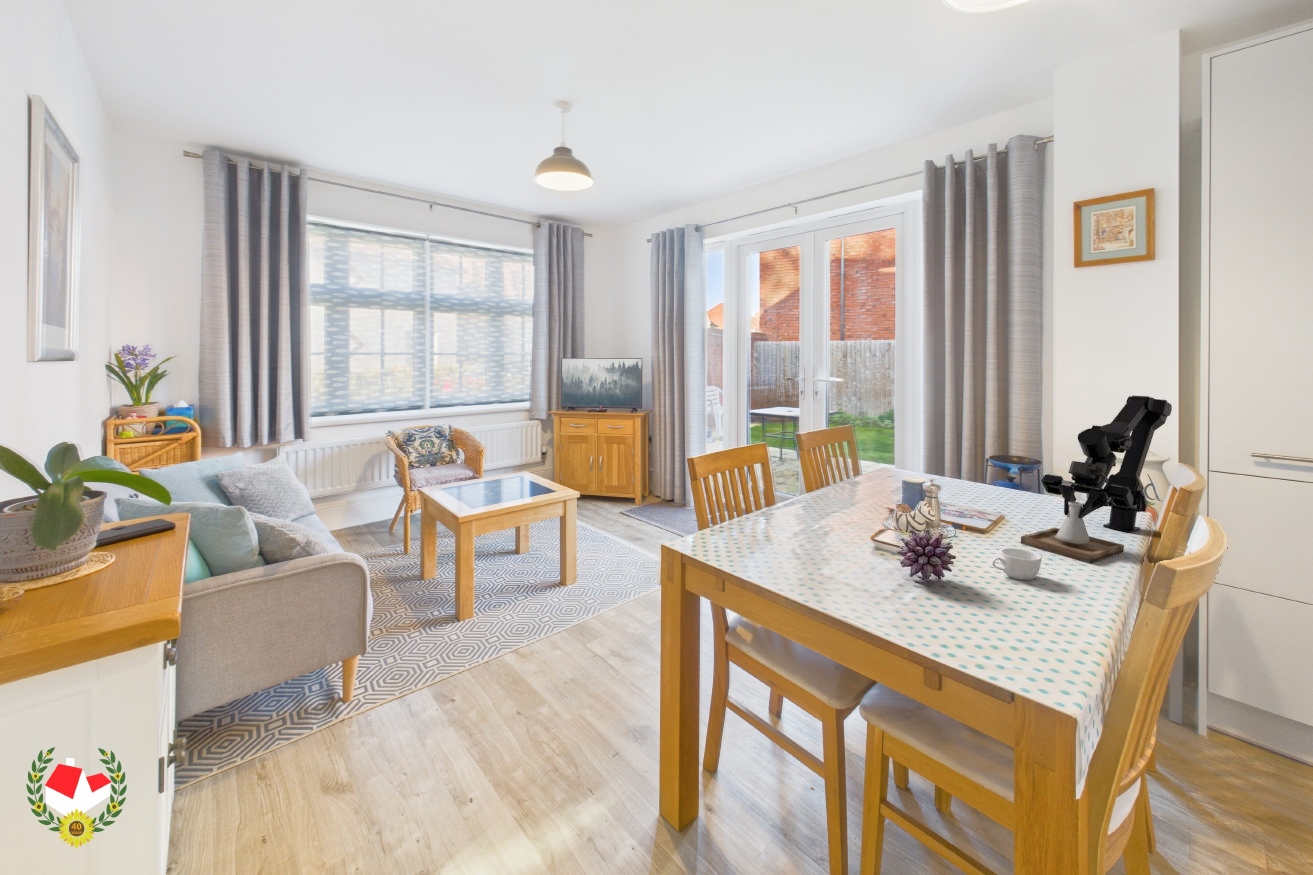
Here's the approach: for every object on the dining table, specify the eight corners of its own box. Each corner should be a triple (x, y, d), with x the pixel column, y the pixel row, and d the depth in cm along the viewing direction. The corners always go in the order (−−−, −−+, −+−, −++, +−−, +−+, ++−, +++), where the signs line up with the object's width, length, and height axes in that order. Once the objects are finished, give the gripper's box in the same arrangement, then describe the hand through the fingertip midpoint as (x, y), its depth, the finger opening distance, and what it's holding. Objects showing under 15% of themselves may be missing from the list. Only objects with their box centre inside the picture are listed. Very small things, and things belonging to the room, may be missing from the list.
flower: (891, 567, 129) (894, 519, 127) (947, 573, 125) (951, 523, 123) (898, 587, 118) (901, 534, 116) (959, 593, 114) (964, 539, 112)
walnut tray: (1054, 534, 152) (1054, 527, 152) (1123, 552, 138) (1124, 545, 137) (1020, 543, 145) (1021, 536, 144) (1089, 563, 131) (1090, 555, 130)
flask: (1065, 534, 146) (1068, 498, 144) (1096, 542, 139) (1100, 504, 138) (1048, 538, 143) (1052, 501, 141) (1079, 546, 136) (1083, 508, 135)
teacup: (1024, 569, 127) (1027, 547, 126) (1047, 583, 119) (1050, 560, 119) (981, 569, 127) (983, 547, 126) (1001, 583, 120) (1003, 559, 119)
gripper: (1048, 444, 147) (1023, 489, 143) (1134, 455, 131) (1109, 506, 128) (1058, 469, 153) (1035, 513, 149) (1143, 482, 137) (1119, 532, 133)
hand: (1072, 515), depth 139 cm, fingers closed on flask, 3 cm apart
